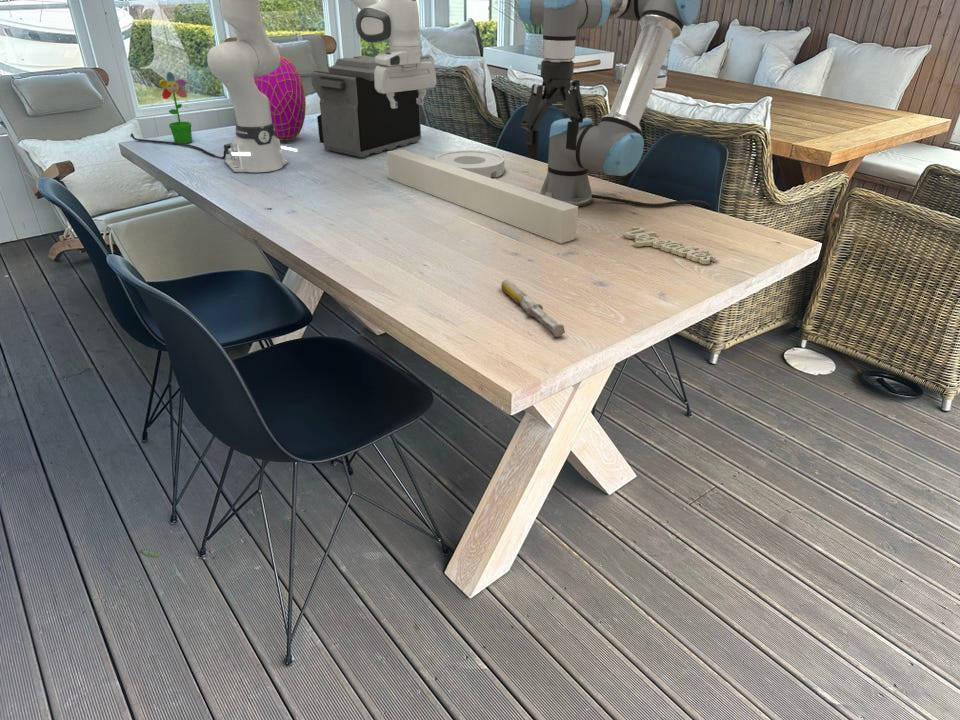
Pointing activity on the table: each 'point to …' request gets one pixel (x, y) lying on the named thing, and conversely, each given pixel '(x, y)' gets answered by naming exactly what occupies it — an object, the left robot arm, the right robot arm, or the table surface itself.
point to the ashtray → (474, 162)
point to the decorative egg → (284, 99)
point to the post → (486, 195)
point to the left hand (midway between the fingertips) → (407, 106)
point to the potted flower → (178, 129)
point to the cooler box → (362, 110)
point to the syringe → (532, 308)
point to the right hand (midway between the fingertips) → (551, 153)
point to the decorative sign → (669, 245)
